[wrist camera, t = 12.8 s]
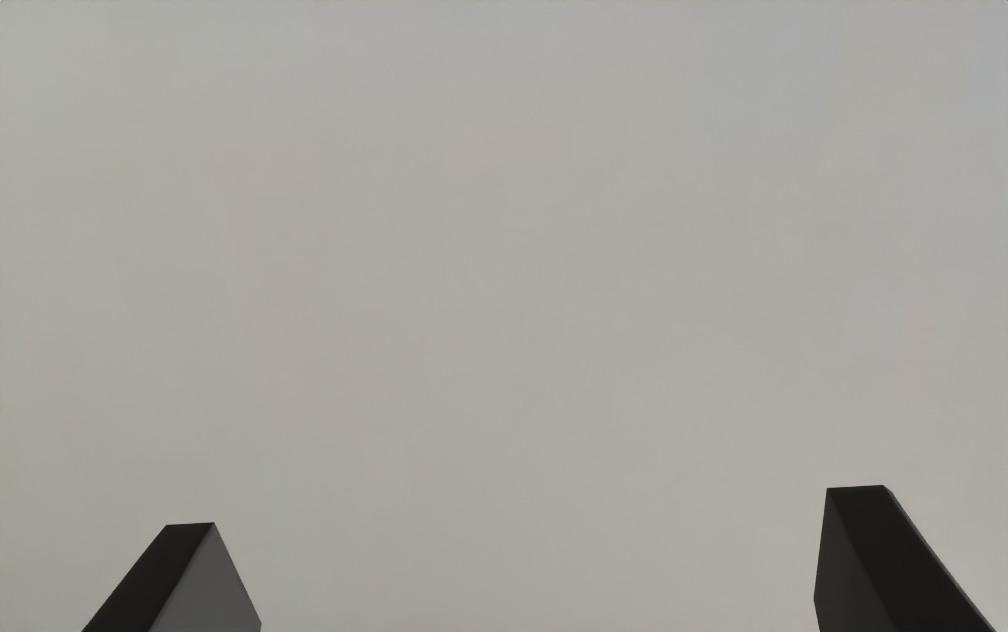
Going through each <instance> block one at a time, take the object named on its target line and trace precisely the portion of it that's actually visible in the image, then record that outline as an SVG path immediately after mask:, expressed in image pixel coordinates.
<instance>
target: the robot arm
mask: <svg viewBox="0 0 1008 632" xmlns="http://www.w3.org/2000/svg"><path fill="white" fill-rule="evenodd" d="M814 603H815V609H816V614H817V619H818V624H819V629H820V632H996V631H995V629H994V628H993V627H992V626H991V625H990V623H989V622H988V621H987V620H986V619H985V617H984V616H983V615H982V614H981V612H980V611H979V610H978V609H977V607H976V606H975V605H974V603H973V602H972V601H971V600H970V598H969V597H968V596H967V595H966V593H965V592H964V591H963V589H962V588H961V587H960V586H959V584H958V583H957V582H956V580H955V579H954V578H953V576H952V575H951V574H950V572H949V571H948V570H947V569H946V567H945V566H944V565H943V563H942V562H941V561H940V559H939V558H938V557H937V555H936V554H935V553H934V551H933V550H932V548H931V547H930V546H929V544H928V543H927V542H926V540H925V539H924V538H923V536H922V535H921V533H920V532H919V531H918V529H917V528H916V526H915V525H914V524H913V522H912V521H911V519H910V518H909V516H908V515H907V514H906V512H905V511H904V509H903V508H902V506H901V505H900V503H899V502H898V500H897V499H896V497H895V496H894V495H893V493H892V492H891V491H890V490H889V489H887V488H886V487H885V486H884V485H874V486H856V487H838V488H827V492H826V501H825V509H824V517H823V525H822V534H821V542H820V550H819V559H818V567H817V575H816V583H815V592H814ZM260 630H261V621H260V619H259V617H258V615H257V613H256V610H255V608H254V606H253V604H252V602H251V600H250V598H249V596H248V593H247V591H246V589H245V587H244V585H243V583H242V581H241V579H240V576H239V574H238V572H237V570H236V568H235V566H234V564H233V561H232V559H231V557H230V555H229V553H228V551H227V549H226V547H225V544H224V542H223V540H222V538H221V536H220V534H219V532H218V530H217V527H216V525H215V523H214V522H212V523H194V524H176V525H166V526H165V527H164V528H163V529H162V531H161V532H160V533H159V534H158V535H157V537H156V538H155V539H154V540H153V542H152V543H151V544H150V545H149V547H148V548H147V549H146V550H145V552H144V553H143V554H142V555H141V557H140V558H139V559H138V560H137V562H136V563H135V564H134V566H133V567H132V568H131V569H130V571H129V572H128V573H127V574H126V576H125V577H124V578H123V580H122V581H121V582H120V583H119V585H118V586H117V587H116V589H115V590H114V591H113V592H112V594H111V595H110V596H109V597H108V599H107V600H106V601H105V603H104V604H103V605H102V606H101V608H100V609H99V610H98V611H97V613H96V614H95V615H94V616H93V618H92V619H91V620H90V622H89V623H88V624H87V625H86V627H85V628H84V629H83V630H82V632H260Z"/></svg>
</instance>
